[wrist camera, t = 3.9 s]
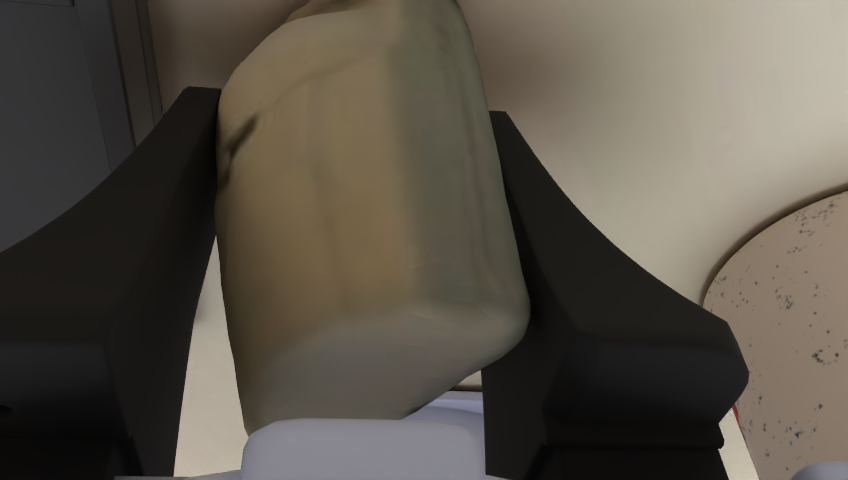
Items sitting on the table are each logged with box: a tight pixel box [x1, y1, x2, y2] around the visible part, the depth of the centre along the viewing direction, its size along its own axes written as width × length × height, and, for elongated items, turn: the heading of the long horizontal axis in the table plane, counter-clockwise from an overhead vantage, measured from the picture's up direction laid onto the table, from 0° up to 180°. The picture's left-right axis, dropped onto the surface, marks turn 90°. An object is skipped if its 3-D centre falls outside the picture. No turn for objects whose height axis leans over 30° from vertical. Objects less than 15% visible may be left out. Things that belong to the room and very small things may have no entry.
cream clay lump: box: [214, 0, 531, 437], centre depth 14 cm, size 6×5×8 cm
